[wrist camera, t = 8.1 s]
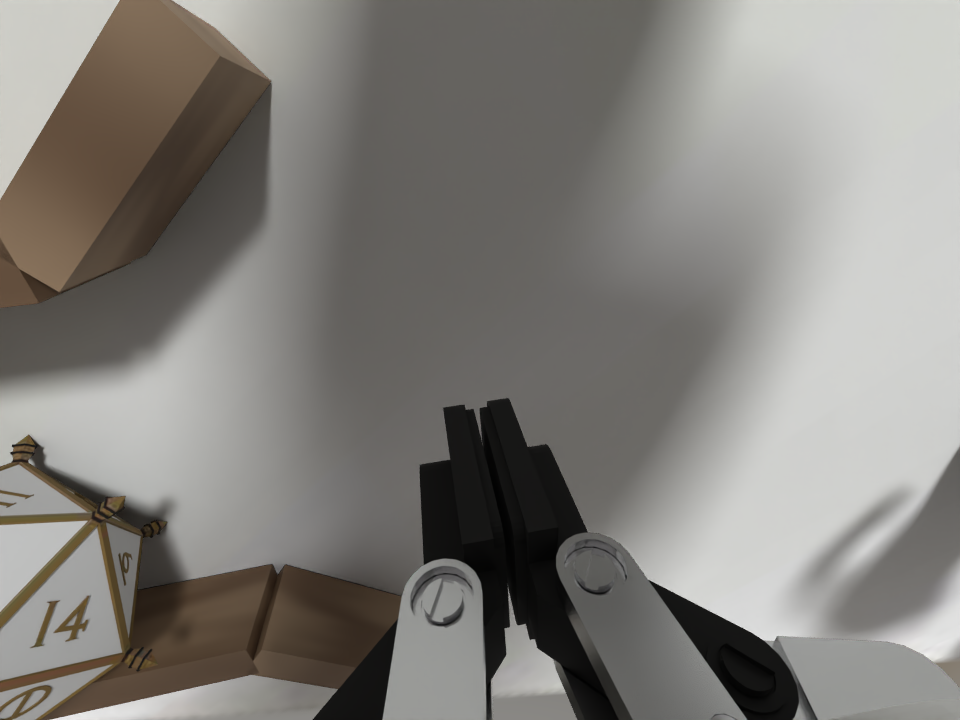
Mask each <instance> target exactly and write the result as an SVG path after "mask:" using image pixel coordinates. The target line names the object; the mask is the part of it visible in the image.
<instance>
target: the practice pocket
mask: <svg viewBox="0 0 960 720" xmlns="http://www.w3.org/2000/svg"><path fill="white" fill-rule="evenodd" d="M270 83H271V81H270V80H269V79H268V78H267V77H266V76H265V75H264V74H263V73H262V72H261V71H260V70H259V69H258V68H257V67H256V66H255V65H253V64H252V63H251V62H250V61H249V60H248V59H247V58H246V57H245V56H244V55H243V54H242V53H241V52H240V51H239V50H238V49H237V48H236V47H235V46H233V45H232V44H231V43H230V42H229V41H228V40H227V39H226V38H225V37H224V36H223V35H222V34H221V33H220V32H219V31H218V30H217V29H216V28H214V27H213V26H211V25H210V24H208V23H206V22H205V21H203V20H202V19H200V18H199V17H197V16H196V15H194V14H192V13H191V12H189V11H188V10H186V9H185V8H183V7H181V6H180V5H178V4H177V3H175V2H174V1H172V0H120V1H119V3H118V4H117V6H116V8H115V9H114V11H113V13H112V14H111V16H110V18H109V19H108V21H107V23H106V24H105V26H104V28H103V29H102V31H101V33H100V34H99V36H98V38H97V39H96V41H95V43H94V44H93V46H92V48H91V49H90V51H89V53H88V54H87V56H86V58H85V59H84V61H83V63H82V64H81V66H80V68H79V69H78V71H77V73H76V74H75V76H74V78H73V79H72V81H71V83H70V84H69V86H68V88H67V89H66V91H65V93H64V94H63V96H62V98H61V99H60V101H59V103H58V104H57V106H56V108H55V109H54V111H53V113H52V114H51V116H50V118H49V119H48V121H47V123H46V124H45V126H44V128H43V129H42V131H41V133H40V134H39V136H38V138H37V139H36V141H35V143H34V144H33V146H32V148H31V149H30V151H29V153H28V154H27V156H26V158H25V159H24V161H23V163H22V164H21V166H20V168H19V169H18V171H17V173H16V174H15V176H14V178H13V179H12V181H11V183H10V185H9V186H8V188H7V190H6V191H5V193H4V195H3V196H2V198H1V200H0V308H4V307H12V306H20V305H28V304H36V303H41V302H43V301H45V300H48V299H50V298H52V297H54V296H57V295H59V294H61V293H64V292H66V291H68V290H70V289H73V288H75V287H77V286H80V285H82V284H84V283H87V282H89V281H91V280H93V279H96V278H98V277H100V276H103V275H105V274H107V273H110V272H112V271H114V270H116V269H119V268H121V267H123V266H126V265H128V264H130V263H131V261H133V260H136V259H138V258H140V257H143V256H145V255H147V253H148V252H149V250H150V249H151V248H152V246H153V245H154V244H155V242H156V241H157V239H158V238H159V237H160V235H161V234H162V232H163V231H164V230H165V228H166V227H167V226H168V224H169V223H170V221H171V220H172V219H173V217H174V216H175V214H176V213H177V212H178V210H179V209H180V208H181V206H182V205H183V203H184V202H185V201H186V199H187V198H188V196H189V195H190V194H191V192H192V191H193V190H194V188H195V187H196V185H197V184H198V183H199V181H200V180H201V178H202V177H203V176H204V174H205V173H206V171H207V170H208V169H209V167H210V166H211V165H212V163H213V162H214V160H215V159H216V158H217V156H218V155H219V153H220V152H221V151H222V149H223V148H224V147H225V145H226V144H227V142H228V141H229V140H230V138H231V137H232V135H233V134H234V133H235V131H236V130H237V129H238V127H239V126H240V124H241V123H242V122H243V120H244V119H245V117H246V116H247V115H248V113H249V112H250V111H251V109H252V108H253V106H254V105H255V104H256V102H257V101H258V99H259V98H260V97H261V95H262V94H263V93H264V91H265V90H266V88H267V87H268V86H269V84H270ZM401 598H402V597H401V596H398V595H394V594H391V593H387V592H383V591H380V590H376V589H372V588H369V587H365V586H361V585H358V584H354V583H350V582H347V581H343V580H339V579H336V578H332V577H328V576H325V575H321V574H318V573H314V572H310V571H307V570H303V569H299V568H296V567H292V566H288V565H285V566H284V567H283V568H282V570H281V571H280V573H279V574H278V575H277V573H276V571H275V569H274V567H273V565H272V564H271V565H265V566H260V567H255V568H250V569H245V570H240V571H235V572H230V573H225V574H220V575H214V576H209V577H204V578H199V579H194V580H189V581H184V582H179V583H174V584H169V585H163V586H158V587H153V588H148V589H143V590H138V591H137V596H136V605H135V613H134V622H133V631H132V640H131V648H133V649H141V648H142V647H144V649H145V650H150V649H152V654H153V655H154V657H155V659H156V661H157V663H158V665H156V666H152V667H148V668H144V669H141V670H140V671H138V672H137V671H136V670H137V669H136V668H133V667H132V668H128V667H129V665H127V664H126V663H125V662H121V663H119V664H118V665H117V666H115V667H114V668H112V669H111V670H110V671H108V672H107V673H105V674H104V675H103V676H101V677H100V678H98V679H97V680H96V681H94V682H93V683H92V684H90V685H89V686H87V687H86V688H85V689H83V690H82V691H80V692H79V693H78V694H76V695H75V696H73V697H72V698H71V699H69V700H68V701H66V702H65V703H64V704H62V705H61V706H60V707H58V708H57V709H55V710H54V711H53V712H51V713H50V714H48V715H47V716H46V717H44V718H43V719H41V720H50V719H55V718H59V717H64V716H68V715H73V714H77V713H82V712H86V711H91V710H95V709H100V708H104V707H109V706H113V705H118V704H122V703H127V702H131V701H136V700H140V699H145V698H149V697H154V696H158V695H163V694H167V693H172V692H176V691H181V690H185V689H190V688H194V687H199V686H203V685H208V684H212V683H217V682H221V681H226V680H230V679H235V678H239V677H244V676H248V675H257V676H263V677H269V678H275V679H281V680H287V681H293V682H299V683H305V684H311V685H317V686H322V687H328V688H334V689H339V688H340V687H341V685H342V684H343V683H344V682H345V681H346V680H347V678H348V677H349V676H350V675H351V674H352V672H353V671H354V670H355V669H356V668H357V666H358V665H359V664H360V663H361V662H362V661H363V659H364V658H365V657H366V656H367V655H368V653H369V652H370V651H371V650H372V649H373V647H374V646H375V645H376V644H377V643H378V642H379V640H380V639H381V638H382V637H383V636H384V634H385V633H386V632H387V631H388V630H389V629H390V627H391V626H392V625H393V624H394V623H395V621H396V620H397V619H398V617H399V611H400V605H401Z"/></svg>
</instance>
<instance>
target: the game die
mask: <svg viewBox="0 0 960 720" xmlns="http://www.w3.org/2000/svg"><path fill="white" fill-rule="evenodd" d="M12 447H14V449H13V452H11V453H10V454H11V455H13V461H12V463H9V464H6V465H3V466H1V467H0V720H41V719H43V718H44V717H46V716H47V715H48V714H50V713H51V712H53V711H54V710H55V709H57V708H58V707H60V706H61V705H62V704H64V703H65V702H66V701H68V700H69V699H71V698H72V697H73V696H75V695H76V694H78V693H79V692H80V691H82V690H83V689H85V688H86V687H87V686H89V685H90V684H92V683H93V682H94V681H96V680H97V679H98V678H100V677H101V676H103V675H104V674H105V673H107V672H108V671H110V670H111V669H112V668H114V667H115V666H117V665H118V664H119V663H121V662H125V663H126V664H127V665H129V667H128V668H132V667H133V668H136V669H137V670H136V671H137V672H138V671H140V670H141V669H144V668H148V667H152V666H156V665H158V663H157V661H156V659H155V657H154V655H153V654H152V649H150V650H145V649H144V647H142V648H141V649H133V648H131V640H132V631H133V622H134V613H135V605H136V596H137V587H138V578H139V569H140V560H141V551H142V543H143V538H145V537H151V538H152V537H153V535H155V534H157V535H159V534H160V531H161V530H162V528H163V527H164V526H165V525H166V523H167V522H163V521H157V520H155V521H152V522H151V524H150V523H149V524H146V525H144V527H143V528H142V529H141V530H140V529H138V528H136V527H135V526H133V525H131V524H130V523H128V522H126V521H125V520H123V519H121V518H120V517H118V516H116V515H115V514H117V513H118V512H120V511H121V510H123V509H124V508H125V507H124V501H125V497H126V496H121V497H105V501H104V502H100V503H98V504H96V503H95V502H93V501H91V500H90V499H88V498H86V497H84V496H83V495H81V494H79V493H78V492H76V491H74V490H73V489H71V488H69V487H68V486H66V485H64V484H63V483H61V482H59V481H58V480H56V479H54V478H53V477H51V476H49V475H48V474H46V473H44V472H43V471H41V470H39V469H38V468H36V467H34V466H33V465H31V464H29V463H28V460H29V458H30V457H31V456H33V455H34V454H35V453H34V452H33V451H34V449H35V448H37V445H35V444H34V442H33V441H32V439H31V437H30V436H29V435H28V436H26V437H25V438H24V439H22V440H21V441H20V442H18V443H17V444H16V445H12Z"/></svg>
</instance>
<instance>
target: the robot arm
mask: <svg viewBox="0 0 960 720" xmlns="http://www.w3.org/2000/svg"><path fill="white" fill-rule="evenodd" d="M443 409H444V417H445V424H446V431H447V439H448V446H449V453H450V460H446V461H439V462H433V463H427V464H421V465H420V490H421V512H422V533H423V554H424V565H423V566H422V567H420V568H419V569H418V570H417V571H416V572H415V573H414V574H412V576H411V577H410V579H409V580H408V582H407V583H406V585H405V588H404V591H403V594H402V598H401V605H400V611H399V617H398V619H397V620H396V621H395V623H394V624H393V625H392V626H391V627H390V629H389V630H388V631H387V632H386V633H385V634H384V636H383V637H382V638H381V639H380V640H379V642H378V643H377V644H376V645H375V646H374V647H373V649H372V650H371V651H370V652H369V653H368V655H367V656H366V657H365V658H364V659H363V661H362V662H361V663H360V664H359V665H358V666H357V668H356V669H355V670H354V671H353V672H352V674H351V675H350V676H349V677H348V678H347V680H346V681H345V682H344V683H343V684H342V685H341V687H340V688H339V689H338V690H337V691H336V693H335V694H334V695H333V696H332V697H331V698H330V700H329V701H328V702H327V703H326V704H325V706H324V707H323V708H322V709H321V710H320V712H319V713H318V714H317V715H316V716H315V718H314V719H313V720H493V693H492V678H493V676H494V674H495V673H496V671H497V669H498V668H499V666H500V664H501V663H502V661H503V659H504V658H505V656H506V644H505V630H504V628H507V627H510V620H509V603H508V588H509V593H510V597H511V601H512V606H513V610H514V615H515V619H516V623H517V625H522V624H526V626H527V630H528V634H529V638H530V640H531V639H535V641H536V645H537V648H538V649H539V650H541V651H542V652H544V653H545V654H547V655H548V656H550V657H551V658H552V659H553V660H554V664H555V667H556V670H557V673H558V675H559V677H560V680H561V682H562V684H563V687H564V689H565V692H566V694H567V696H568V699H569V701H570V703H571V706H572V708H573V711H574V713H575V715H576V718H577V720H960V688H959V687H958V685H956V683H955V682H954V681H953V680H952V679H951V678H950V677H949V676H948V675H947V674H946V673H945V672H944V670H943V669H941V668H940V667H939V666H937V665H936V664H935V663H934V662H932V661H931V660H929V659H928V658H927V657H925V656H924V655H923V654H921V653H918V652H916V651H914V650H912V649H910V648H908V647H906V646H904V645H900V644H895V643H890V642H882V641H863V640H844V639H825V638H805V637H786V636H777V637H776V639H775V641H763V640H762V639H760V638H759V637H757V636H756V635H754V634H753V633H751V632H749V631H747V630H745V629H743V628H741V627H739V626H737V625H735V624H733V623H731V622H730V621H728V620H726V619H724V618H722V617H720V616H718V615H716V614H714V613H712V612H710V611H708V610H706V609H704V608H702V607H700V606H698V605H696V604H694V603H693V602H691V601H689V600H687V599H685V598H683V597H681V596H679V595H677V594H675V593H673V592H671V591H669V590H667V589H665V588H663V587H661V586H659V585H657V584H656V583H654V582H652V581H650V580H648V579H647V578H646V576H645V575H644V573H643V572H642V571H641V569H640V568H639V566H638V565H637V564H636V562H635V561H634V559H633V558H632V556H631V555H630V554H629V553H628V551H627V550H626V549H625V548H624V547H623V546H622V545H621V544H620V543H618V542H616V541H615V540H613V539H612V538H610V537H607V536H605V535H602V534H599V533H588V532H587V529H586V527H585V525H584V523H583V520H582V518H581V516H580V514H579V512H578V509H577V507H576V505H575V503H574V500H573V498H572V496H571V494H570V492H569V489H568V487H567V485H566V483H565V480H564V478H563V476H562V474H561V472H560V469H559V467H558V465H557V463H556V460H555V458H554V456H553V454H552V452H551V450H550V448H549V446H548V445H547V444H545V445H539V446H533V447H527V444H526V442H525V439H524V436H523V434H522V431H521V429H520V426H519V423H518V421H517V418H516V416H515V413H514V410H513V408H512V405H511V402H510V400H509V399H508V398H505V399H499V400H492V401H487V407H483V408H480V419H481V431H482V441H481V437H480V433H479V429H478V425H477V421H476V417H475V413H474V409H470V410H466V409H465V405H458V406H451V407H445V408H443ZM482 443H483V445H482ZM507 584H508V586H507Z"/></svg>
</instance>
